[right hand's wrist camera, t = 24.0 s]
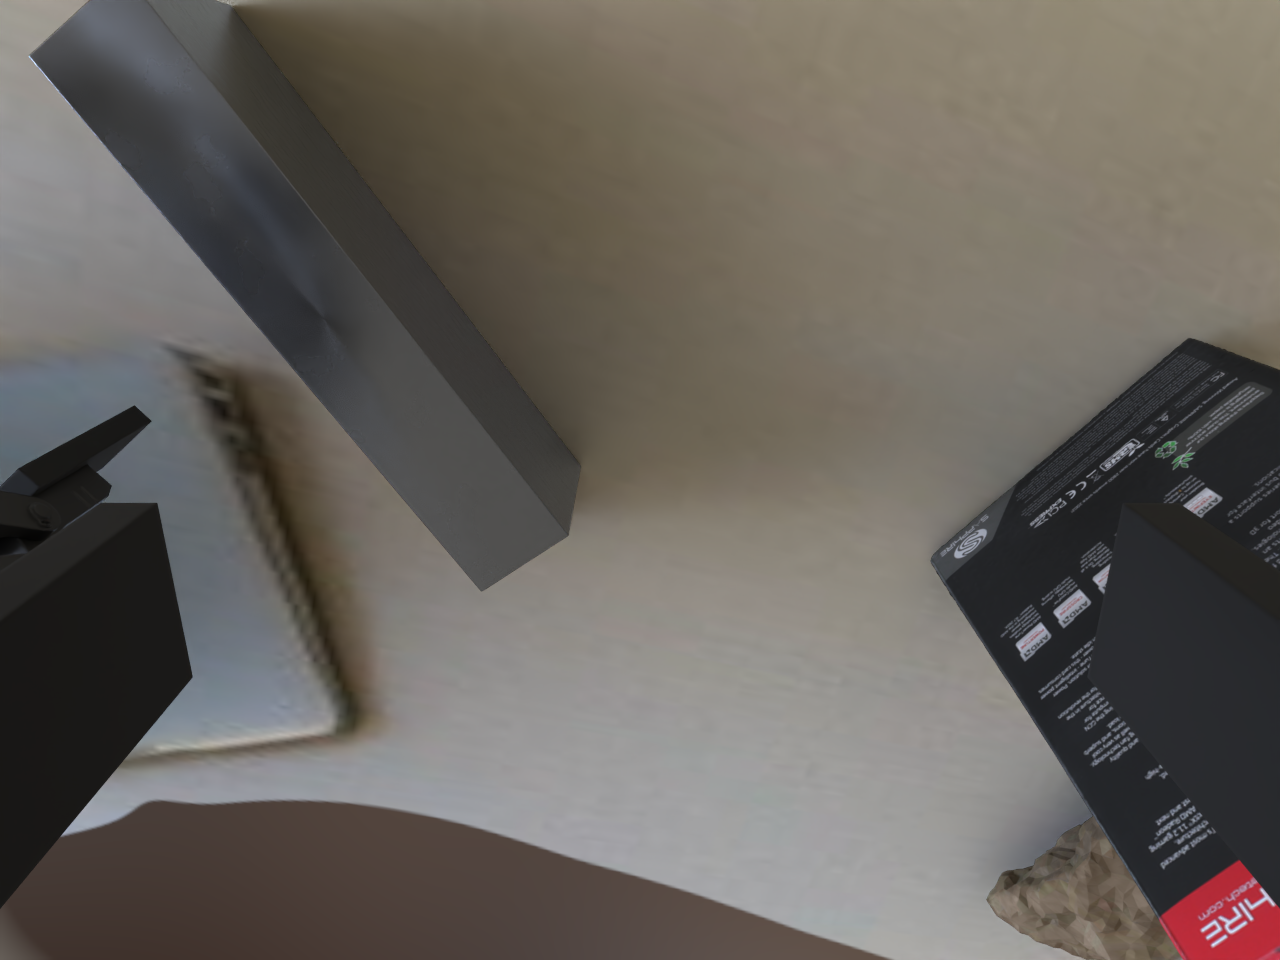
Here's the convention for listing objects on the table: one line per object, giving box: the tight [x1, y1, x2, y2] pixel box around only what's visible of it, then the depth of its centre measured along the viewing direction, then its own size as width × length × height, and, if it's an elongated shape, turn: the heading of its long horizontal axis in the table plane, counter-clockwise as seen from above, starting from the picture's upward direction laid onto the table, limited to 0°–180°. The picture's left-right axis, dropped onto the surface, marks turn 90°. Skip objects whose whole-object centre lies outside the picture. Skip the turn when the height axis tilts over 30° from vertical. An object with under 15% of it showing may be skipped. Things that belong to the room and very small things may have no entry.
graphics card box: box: [931, 338, 1280, 960], centre depth 34 cm, size 17×7×27 cm, turn 138°
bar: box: [29, 0, 581, 591], centre depth 39 cm, size 26×5×9 cm, turn 35°
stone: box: [987, 816, 1183, 960], centre depth 52 cm, size 21×15×6 cm
